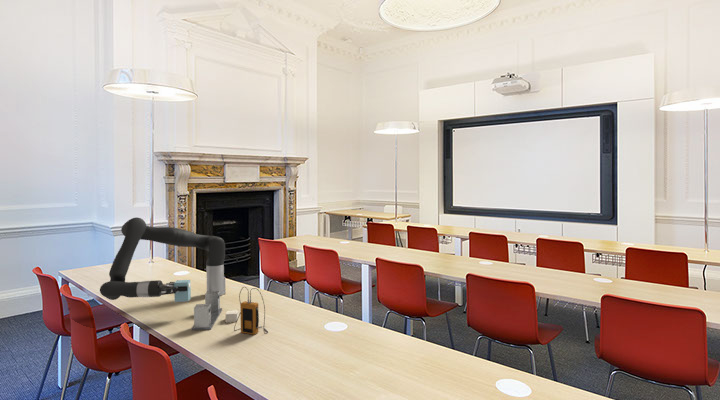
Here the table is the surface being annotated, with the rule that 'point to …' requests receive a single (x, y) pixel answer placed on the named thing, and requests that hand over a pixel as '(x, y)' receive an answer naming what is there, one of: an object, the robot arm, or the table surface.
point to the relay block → (231, 316)
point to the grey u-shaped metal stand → (207, 311)
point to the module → (183, 295)
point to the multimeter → (249, 316)
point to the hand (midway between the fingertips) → (188, 287)
